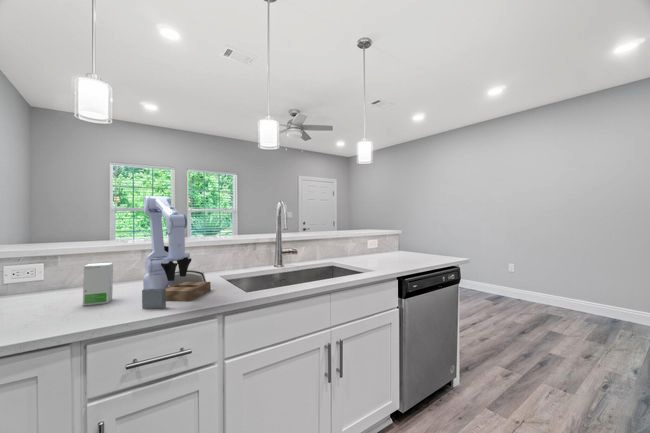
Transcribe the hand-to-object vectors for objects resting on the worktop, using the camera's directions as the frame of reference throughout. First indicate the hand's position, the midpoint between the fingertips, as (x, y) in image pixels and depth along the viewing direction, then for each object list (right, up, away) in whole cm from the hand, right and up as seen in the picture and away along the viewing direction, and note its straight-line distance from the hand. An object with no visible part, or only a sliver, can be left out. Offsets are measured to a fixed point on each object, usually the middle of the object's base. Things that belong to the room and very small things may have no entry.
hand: (177, 278), depth 108 cm
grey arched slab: (-8, -10, +23) cm, 27 cm away
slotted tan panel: (-2, -10, +10) cm, 14 cm away
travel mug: (-23, -10, +30) cm, 39 cm away
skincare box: (-33, -10, +2) cm, 34 cm away
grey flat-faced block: (-5, -10, -6) cm, 13 cm away
